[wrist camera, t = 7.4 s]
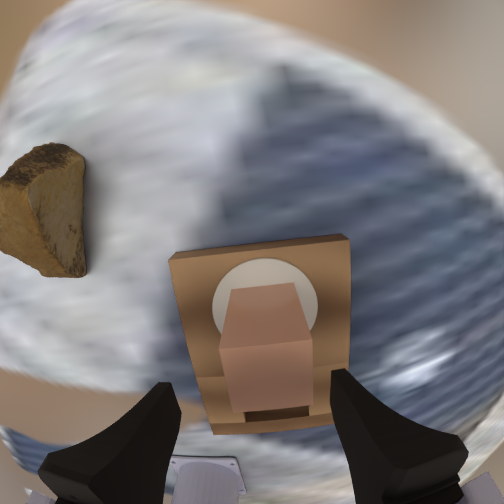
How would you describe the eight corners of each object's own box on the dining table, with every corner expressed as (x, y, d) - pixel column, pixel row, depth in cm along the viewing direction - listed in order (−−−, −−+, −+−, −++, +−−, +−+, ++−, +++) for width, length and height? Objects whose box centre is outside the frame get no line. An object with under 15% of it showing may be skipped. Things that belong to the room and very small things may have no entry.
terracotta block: (297, 335, 20) (313, 404, 13) (239, 342, 20) (233, 412, 13) (293, 282, 19) (312, 339, 12) (231, 289, 19) (218, 348, 12)
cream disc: (317, 343, 21) (318, 347, 20) (222, 353, 21) (221, 358, 20) (313, 251, 19) (315, 253, 18) (205, 263, 19) (204, 266, 19)
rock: (99, 314, 20) (135, 196, 16) (-4, 325, 13) (-3, 184, 10) (64, 235, 25) (91, 140, 22) (-12, 234, 18) (4, 127, 15)
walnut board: (338, 407, 25) (343, 421, 23) (215, 420, 25) (213, 434, 23) (341, 233, 21) (349, 239, 19) (175, 252, 21) (168, 260, 19)
